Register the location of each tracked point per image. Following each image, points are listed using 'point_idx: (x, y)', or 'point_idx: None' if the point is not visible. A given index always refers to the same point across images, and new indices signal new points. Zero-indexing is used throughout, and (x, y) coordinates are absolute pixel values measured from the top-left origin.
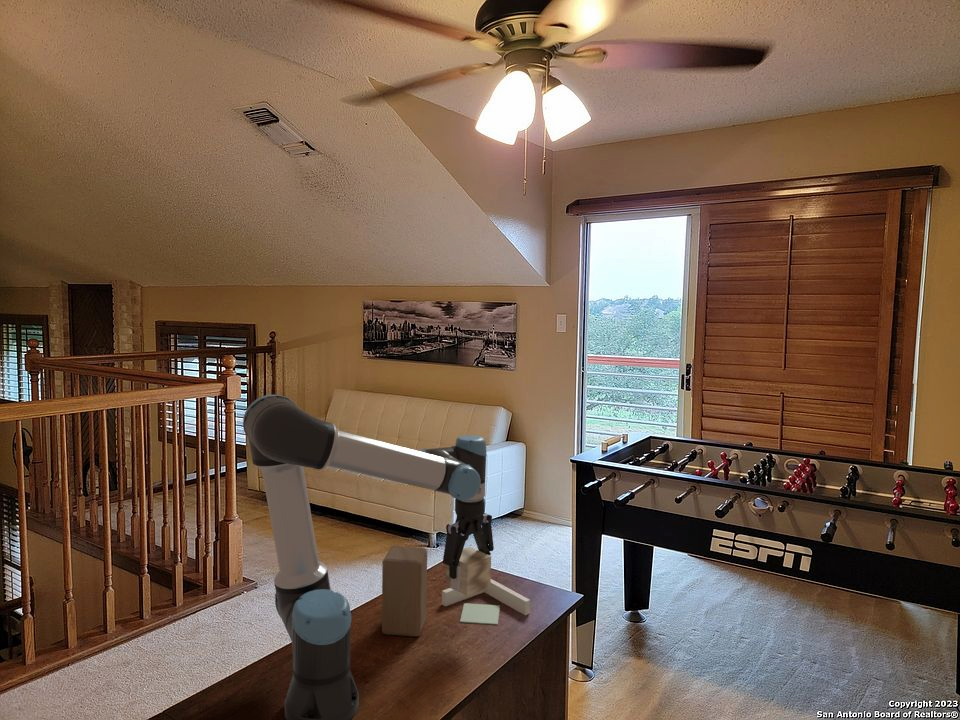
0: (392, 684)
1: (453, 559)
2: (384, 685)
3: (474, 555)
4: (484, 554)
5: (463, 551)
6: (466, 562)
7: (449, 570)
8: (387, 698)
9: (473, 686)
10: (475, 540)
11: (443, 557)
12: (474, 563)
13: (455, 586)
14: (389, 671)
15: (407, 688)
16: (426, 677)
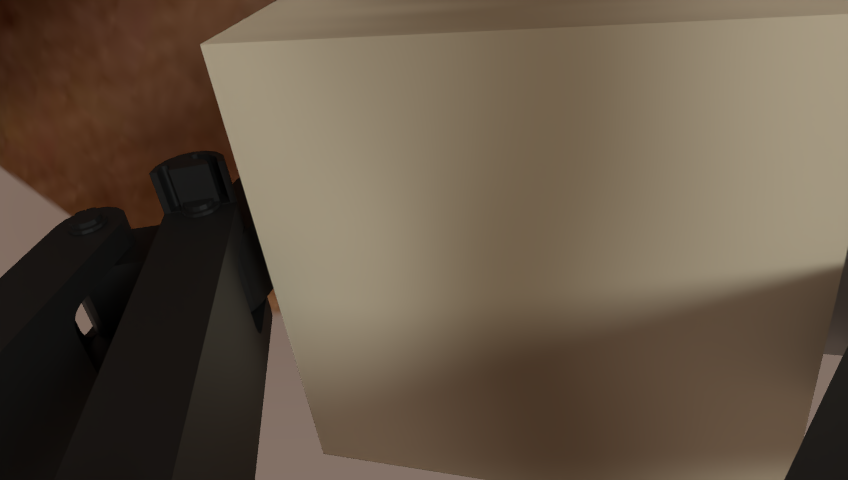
0: (98, 101)
1: (234, 247)
2: (69, 86)
3: (597, 359)
4: (760, 440)
5: (560, 130)
6: (346, 410)
7: (236, 184)
8: (68, 156)
9: None
10: (810, 430)
11: (24, 260)
12: (437, 461)
13: None
14: (103, 15)
15: (144, 158)
16: (230, 151)
